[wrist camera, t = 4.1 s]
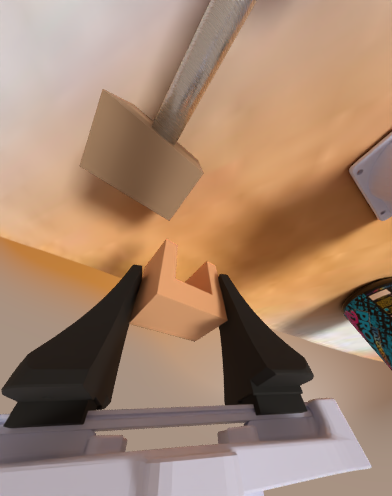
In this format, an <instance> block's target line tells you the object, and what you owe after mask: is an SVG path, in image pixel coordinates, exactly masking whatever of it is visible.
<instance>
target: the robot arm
mask: <svg viewBox="0 0 392 496" xmlns="http://www.w3.org/2000/svg"><path fill="white" fill-rule="evenodd" d="M358 171H359V172H358ZM357 172H358V173H357ZM349 173H350V175H351V176H352V178H353V179H354V181H355V183H356V184H357V186H358V187H359V189H360V191H361V192H362V194H363V196H364V197H365V199H366V200H367V202H368V204H369V205H370V207H371V209H372V210H373V212H374V213H375V215H376V217H377V218H378V219H379V220H381V221H384V220H387V219H388V218H390V217H391V216H392V132H391V133H390V134H388V135H387V136H386V137H385V138H384V139H383V140H381V141H380V142H379V143H378V144H377V145H375V146H374V147H373V148H372V149H371V150H370V151H368V152H367V153H366V154H365V155H364V156H362V157H361V158H360V159H359V160H358V161H357V162H355V163H354V164H353V165H352V166H351V167H350V169H349ZM218 280H219V284H220V289H221V292H222V296H223V301H224V305H225V310H226V314H227V319H228V321H226V322H225V323H223V324H221V325H220V326H219V330H220V336H221V346H222V357H223V373H224V401H225V405H222V406H197V407H171V408H146V409H121V410H102V409H104V408H106V407H107V406H108V405H109V404H110V402H111V398H112V393H113V389H114V385H115V380H116V376H117V371H118V366H119V363H120V359H121V354H122V350H123V346H124V342H125V338H126V334H127V330H128V327H129V322H130V318H131V315H132V311H133V308H134V304H135V301H136V297H137V294H138V291H139V288H140V284H141V281H142V266H140V265H133V266H132V267H131V268H130V269H129V271H128V272H127V273H126V275H125V276H124V277H123V278H122V279H121V280H120V282H119V283H118V284H117V285H116V286H115V287H114V288H113V289H112V290H111V291H110V292H109V293H108V294H107V295H106V296H105V297H104V298H103V299H102V300H101V301H100V302H99V303H98V304H97V305H96V306H94V307H93V308H92V309H91V310H90V311H89V312H87V313H86V314H85V315H84V316H83V317H81V318H80V319H79V320H77V321H76V322H75V323H73V324H72V325H71V326H69V327H68V328H66V329H65V330H64V331H62V332H61V333H60V334H58V335H57V336H56V337H54V338H52V339H51V340H49V341H48V342H46V343H44V344H43V345H41V346H40V347H38V348H37V349H35V350H34V351H32V352H31V353H29V354H28V355H27V356H26V358H25V359H24V360H23V361H22V362H21V363H20V364H19V366H18V367H17V368H16V370H15V371H14V372H13V374H12V375H11V377H10V378H9V380H8V381H7V382H6V384H5V385H4V387H3V388H2V394H3V395H4V396H6V397H8V398H11V399H13V400H15V401H17V404H16V406H15V407H14V409H13V411H12V412H11V414H0V496H264V492H263V490H268V489H272V488H277V487H281V486H285V485H290V484H294V483H299V482H303V481H307V480H312V479H316V478H320V477H325V476H329V475H334V474H338V473H343V472H349V471H355V470H361V469H369V468H371V464H370V463H369V461H368V459H367V457H366V455H365V454H364V452H363V450H362V448H361V447H360V444H359V443H358V441H357V439H356V437H355V436H354V434H353V432H352V430H351V428H350V426H349V425H348V423H347V421H346V419H345V417H344V416H343V414H342V412H341V410H340V408H339V407H338V405H337V403H336V401H335V399H333V398H321V399H313V400H310V401H308V402H304V401H303V399H302V397H301V394H302V393H303V392H302V390H301V387H300V385H302V384H304V383H306V382H308V381H310V380H312V379H313V377H314V375H313V373H312V371H311V369H310V367H309V366H308V363H307V361H306V360H305V358H304V357H303V356H301V355H300V354H299V353H298V352H296V351H295V350H294V349H293V348H291V347H290V346H289V345H288V344H286V343H285V342H284V341H283V340H282V339H280V338H279V337H278V336H277V335H276V334H275V333H274V332H273V331H272V330H271V329H270V328H269V327H268V326H267V325H266V324H265V323H264V322H263V321H262V320H261V319H260V318H259V317H258V316H257V315H256V314H255V312H254V311H253V310H252V309H251V308H250V306H249V305H248V304H247V303H246V301H245V300H244V299H243V297H242V296H241V295H240V293H239V292H238V290H237V289H236V287H235V286H234V284H233V283H232V281H231V280H230V278H229V277H228V275H225V274H220V275H219V277H218ZM227 423H228V424H229V423H245V424H244V426H241V427H234V428H228V429H227V430H225V431H220V432H218V444H213V445H199V446H187V447H175V448H163V449H153V450H142V451H132V452H125V450H126V445H127V439H126V438H123V435H98V436H96V433H95V431H112V430H128V429H145V428H162V427H179V426H194V425H195V426H196V425H211V424H227Z"/></svg>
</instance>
